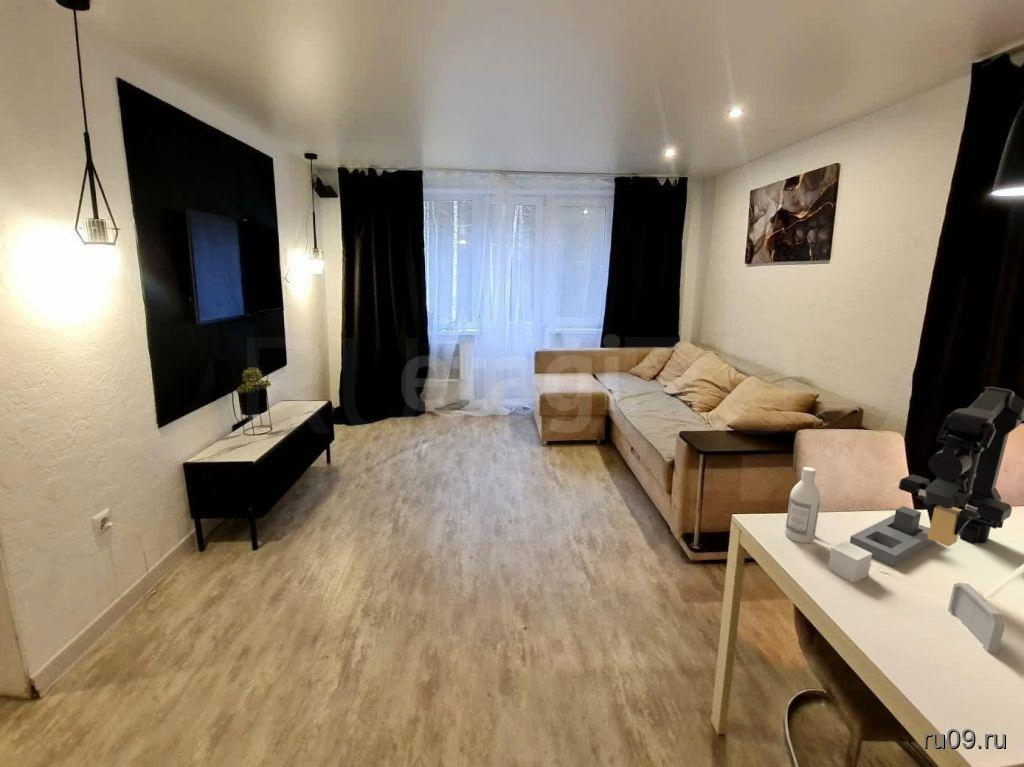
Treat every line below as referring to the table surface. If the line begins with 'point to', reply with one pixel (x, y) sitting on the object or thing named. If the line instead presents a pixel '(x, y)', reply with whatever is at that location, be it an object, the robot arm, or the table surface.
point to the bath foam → (803, 509)
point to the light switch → (977, 616)
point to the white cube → (849, 561)
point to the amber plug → (944, 525)
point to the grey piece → (891, 541)
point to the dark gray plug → (906, 520)
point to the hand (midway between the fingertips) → (944, 530)
